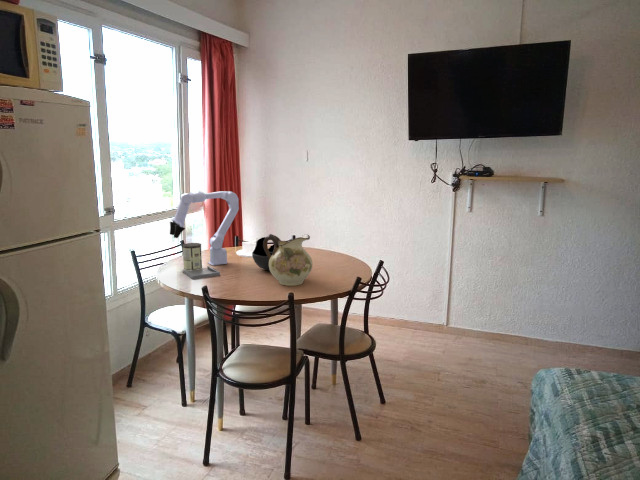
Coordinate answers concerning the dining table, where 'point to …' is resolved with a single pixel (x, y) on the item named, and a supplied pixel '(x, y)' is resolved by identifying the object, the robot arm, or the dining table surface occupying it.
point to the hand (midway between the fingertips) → (173, 236)
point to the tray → (202, 273)
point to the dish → (247, 249)
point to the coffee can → (192, 256)
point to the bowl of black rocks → (262, 254)
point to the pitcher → (288, 260)
